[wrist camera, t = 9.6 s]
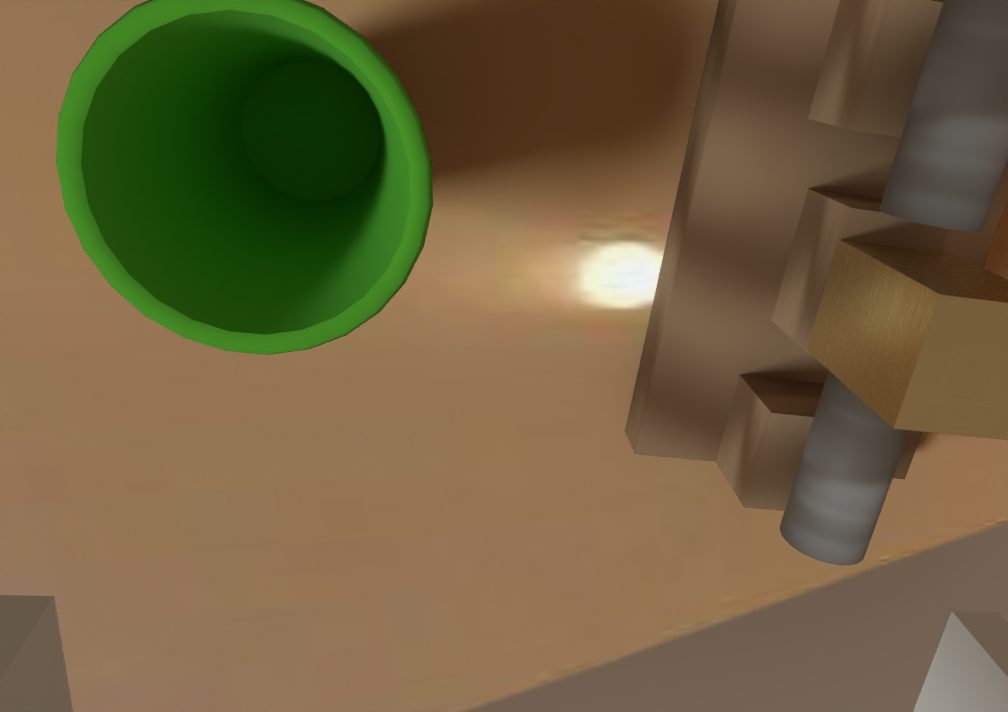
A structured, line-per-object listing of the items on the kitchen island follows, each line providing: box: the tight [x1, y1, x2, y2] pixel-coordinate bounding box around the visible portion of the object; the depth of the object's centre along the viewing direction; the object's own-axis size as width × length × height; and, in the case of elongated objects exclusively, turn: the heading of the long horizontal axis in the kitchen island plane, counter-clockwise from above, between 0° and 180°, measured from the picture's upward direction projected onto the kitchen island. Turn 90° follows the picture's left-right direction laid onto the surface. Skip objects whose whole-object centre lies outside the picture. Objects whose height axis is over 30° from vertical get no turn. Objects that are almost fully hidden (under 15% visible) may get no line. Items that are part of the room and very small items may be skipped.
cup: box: [56, 0, 433, 355], centre depth 25 cm, size 9×9×11 cm
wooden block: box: [807, 240, 1008, 440], centre depth 25 cm, size 4×4×6 cm
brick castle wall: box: [625, 0, 1008, 565], centre depth 29 cm, size 18×12×8 cm, turn 172°
